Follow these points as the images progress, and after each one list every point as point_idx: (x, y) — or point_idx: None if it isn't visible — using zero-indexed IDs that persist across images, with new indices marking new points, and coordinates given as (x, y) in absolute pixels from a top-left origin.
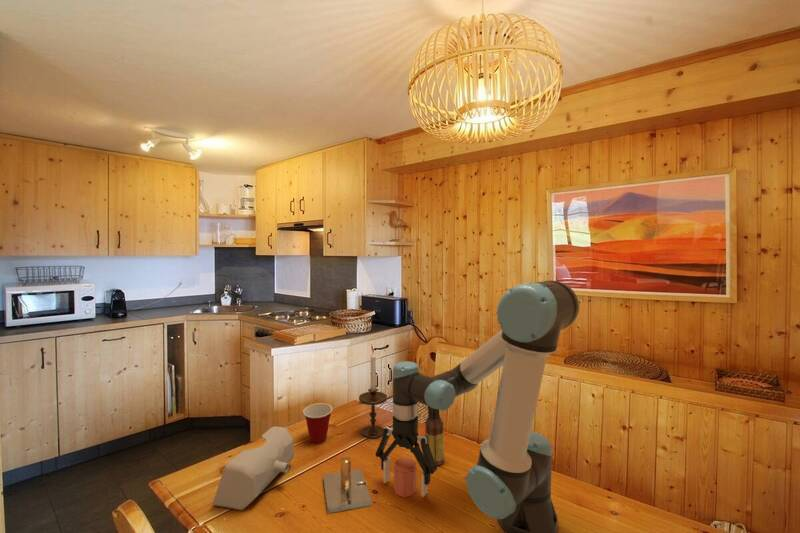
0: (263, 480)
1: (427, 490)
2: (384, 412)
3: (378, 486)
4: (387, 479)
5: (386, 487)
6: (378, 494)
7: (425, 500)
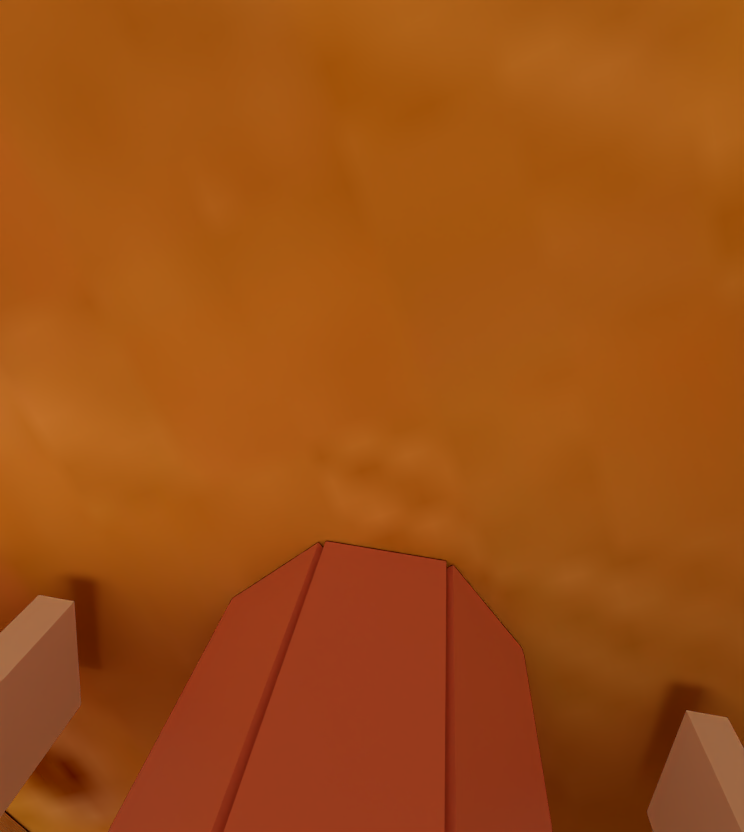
0: None
1: (733, 736)
2: None
3: None
4: (61, 682)
5: (125, 685)
6: (116, 803)
7: None
